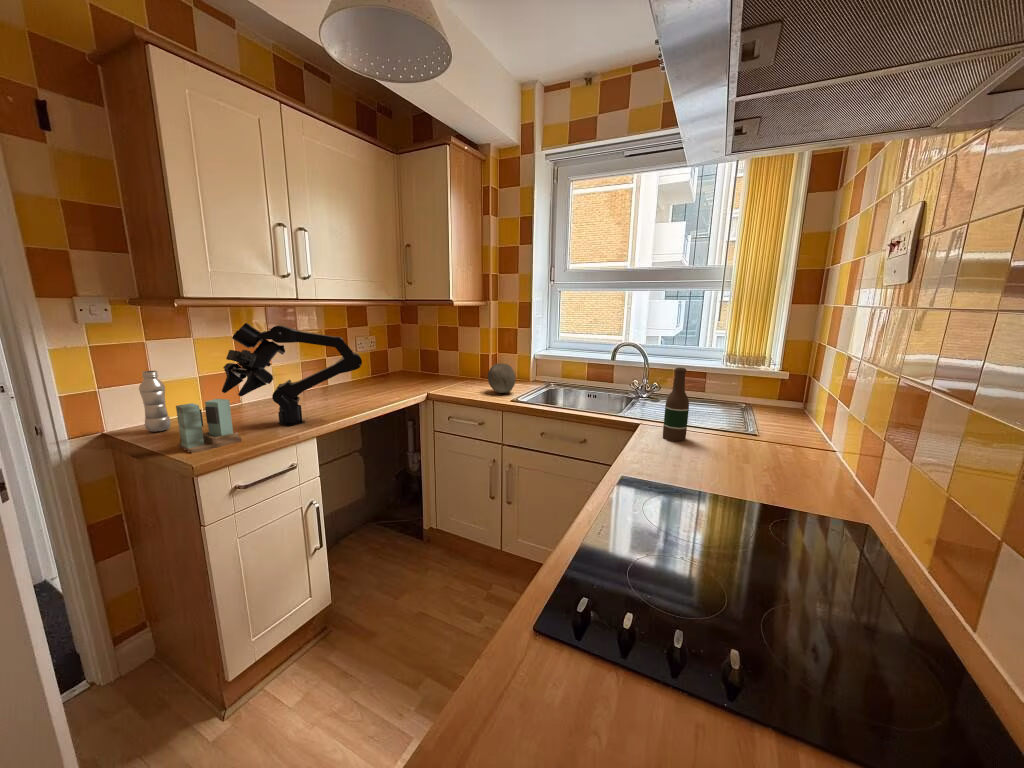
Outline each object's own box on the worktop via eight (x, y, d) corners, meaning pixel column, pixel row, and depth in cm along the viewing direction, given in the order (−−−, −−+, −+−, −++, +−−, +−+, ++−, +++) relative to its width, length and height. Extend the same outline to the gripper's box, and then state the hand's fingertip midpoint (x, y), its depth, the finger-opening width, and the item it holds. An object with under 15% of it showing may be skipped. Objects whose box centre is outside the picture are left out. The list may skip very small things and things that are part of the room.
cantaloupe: (519, 392, 205) (520, 362, 202) (508, 397, 192) (508, 366, 189) (494, 389, 211) (495, 360, 208) (481, 394, 198) (481, 364, 195)
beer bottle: (667, 433, 143) (674, 365, 138) (690, 438, 137) (697, 368, 133) (657, 438, 137) (663, 367, 133) (680, 443, 132) (687, 370, 127)
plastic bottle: (157, 434, 131) (147, 373, 128) (140, 433, 133) (130, 372, 129) (177, 428, 138) (168, 370, 134) (160, 427, 139) (151, 369, 135)
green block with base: (227, 435, 132) (223, 396, 129) (241, 441, 127) (236, 400, 124) (178, 447, 121) (172, 404, 118) (191, 453, 116) (185, 409, 114)
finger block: (221, 435, 129) (216, 398, 126) (233, 436, 128) (229, 399, 125) (208, 440, 124) (203, 402, 122) (220, 441, 123) (215, 403, 121)
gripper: (226, 338, 136) (192, 376, 128) (260, 342, 128) (226, 382, 120) (252, 359, 144) (222, 395, 137) (286, 364, 136) (256, 402, 128)
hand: (231, 394), depth 130 cm, fingers open, 9 cm apart
